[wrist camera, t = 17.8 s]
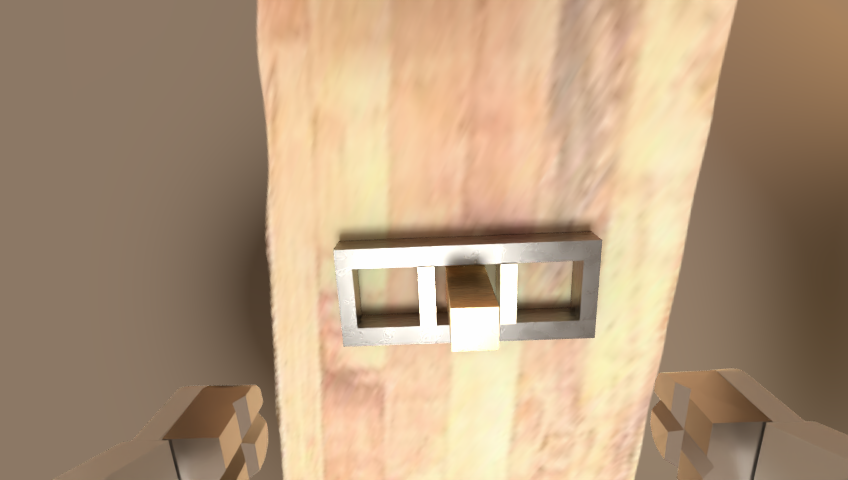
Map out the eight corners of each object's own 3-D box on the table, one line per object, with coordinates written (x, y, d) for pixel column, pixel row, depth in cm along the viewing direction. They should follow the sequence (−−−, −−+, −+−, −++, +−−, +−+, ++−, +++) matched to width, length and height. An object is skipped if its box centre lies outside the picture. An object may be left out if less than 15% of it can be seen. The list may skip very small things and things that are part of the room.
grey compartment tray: (339, 241, 45) (332, 250, 42) (590, 231, 44) (603, 240, 41) (348, 332, 48) (343, 347, 45) (584, 323, 47) (595, 338, 44)
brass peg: (445, 266, 46) (450, 308, 36) (483, 264, 45) (499, 306, 36) (446, 301, 47) (451, 351, 37) (484, 300, 47) (498, 349, 37)
